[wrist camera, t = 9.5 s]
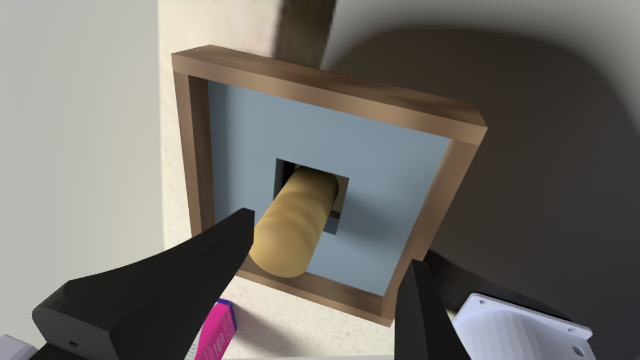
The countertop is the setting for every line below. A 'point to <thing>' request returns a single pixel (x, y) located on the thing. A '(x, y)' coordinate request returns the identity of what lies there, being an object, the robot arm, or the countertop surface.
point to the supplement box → (214, 333)
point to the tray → (340, 96)
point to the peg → (294, 223)
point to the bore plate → (331, 156)
